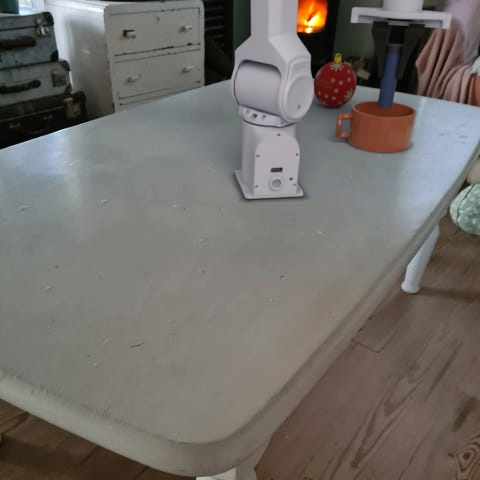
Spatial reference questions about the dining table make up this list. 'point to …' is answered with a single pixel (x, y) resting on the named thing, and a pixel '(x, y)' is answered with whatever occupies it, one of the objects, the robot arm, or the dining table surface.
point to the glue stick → (389, 75)
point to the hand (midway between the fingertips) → (389, 77)
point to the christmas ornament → (335, 83)
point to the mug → (378, 126)
